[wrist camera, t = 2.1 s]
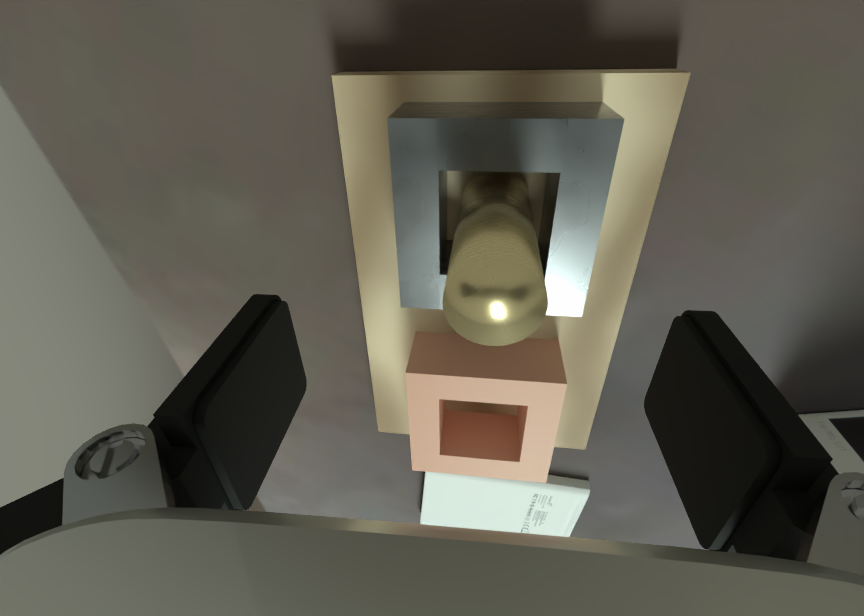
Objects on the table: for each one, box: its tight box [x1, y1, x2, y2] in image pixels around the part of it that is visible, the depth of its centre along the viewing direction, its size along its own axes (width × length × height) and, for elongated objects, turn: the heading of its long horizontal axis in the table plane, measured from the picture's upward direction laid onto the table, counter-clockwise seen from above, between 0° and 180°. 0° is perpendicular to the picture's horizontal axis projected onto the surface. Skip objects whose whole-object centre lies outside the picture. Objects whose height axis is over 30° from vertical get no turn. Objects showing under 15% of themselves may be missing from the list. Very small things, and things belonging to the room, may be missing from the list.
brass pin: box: [442, 171, 548, 346], centre depth 16 cm, size 3×3×9 cm
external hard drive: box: [420, 471, 590, 537], centre depth 35 cm, size 2×8×12 cm
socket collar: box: [405, 331, 567, 483], centre depth 25 cm, size 8×8×4 cm
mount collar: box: [387, 102, 624, 317], centre depth 18 cm, size 8×8×4 cm
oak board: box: [332, 69, 691, 449], centre depth 24 cm, size 14×22×2 cm, turn 1°
